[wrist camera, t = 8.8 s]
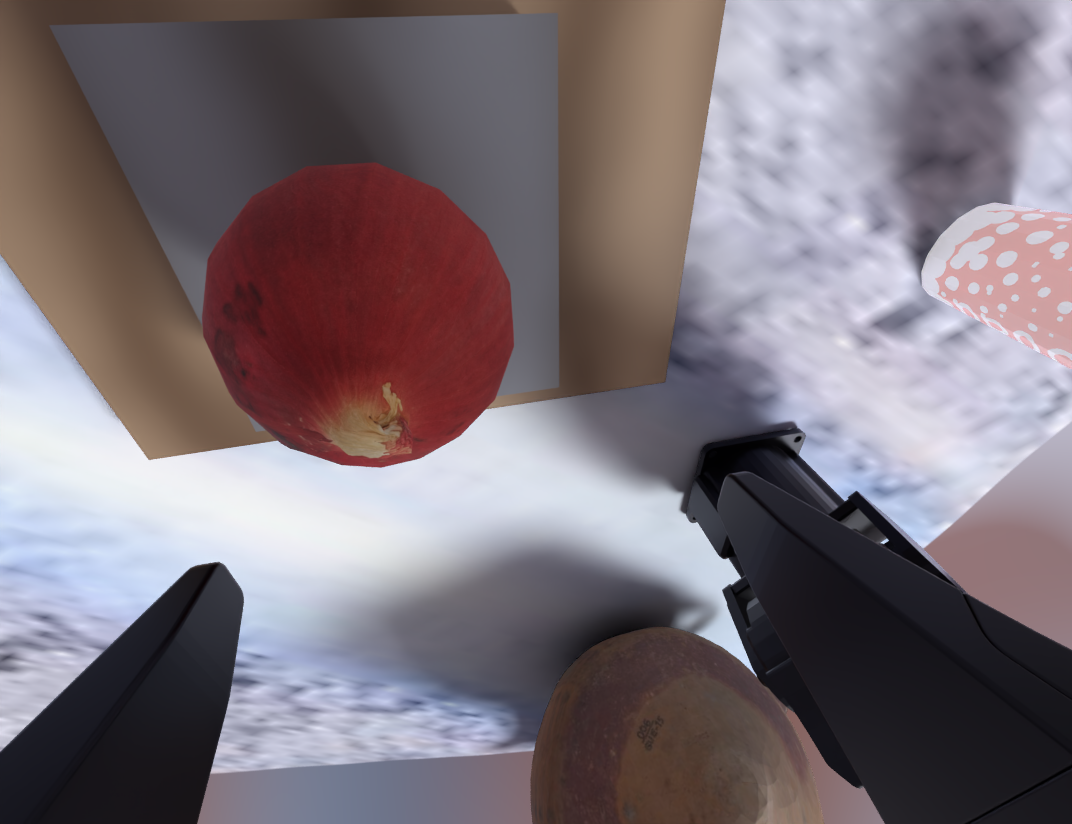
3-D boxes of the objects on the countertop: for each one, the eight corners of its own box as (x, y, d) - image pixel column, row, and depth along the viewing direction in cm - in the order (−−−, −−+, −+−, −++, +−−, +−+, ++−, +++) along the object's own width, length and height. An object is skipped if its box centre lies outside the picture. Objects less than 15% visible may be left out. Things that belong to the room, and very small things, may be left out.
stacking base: (717, -112, 13) (844, -189, 9) (652, 366, 23) (701, 427, 19) (-211, -128, 10) (-613, -257, 6) (164, 436, 20) (102, 528, 16)
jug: (578, 565, 32) (483, 695, 51) (596, 1053, 17) (454, 974, 37) (831, 613, 35) (651, 718, 55) (1023, 1053, 21) (685, 981, 40)
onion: (356, 387, 15) (312, 625, 8) (207, 213, 11) (-69, 396, 5) (521, 303, 14) (608, 489, 8) (419, 94, 11) (427, 124, 4)
